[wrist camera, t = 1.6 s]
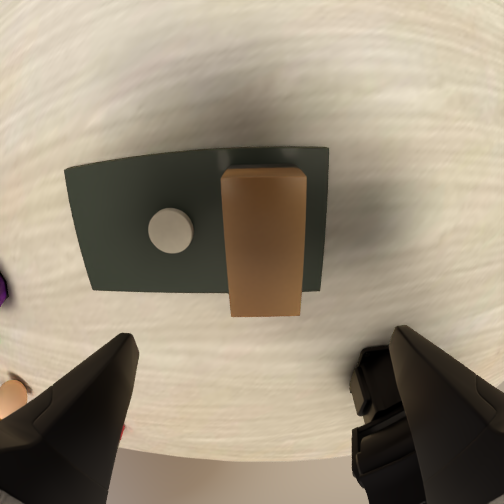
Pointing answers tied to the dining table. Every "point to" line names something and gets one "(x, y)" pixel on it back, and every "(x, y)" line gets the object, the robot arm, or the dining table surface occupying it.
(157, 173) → the chalkboard
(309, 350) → the dining table surface
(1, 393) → the egg
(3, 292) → the potion bottle
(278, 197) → the brown rectangular block
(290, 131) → the dining table surface
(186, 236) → the beige disc
